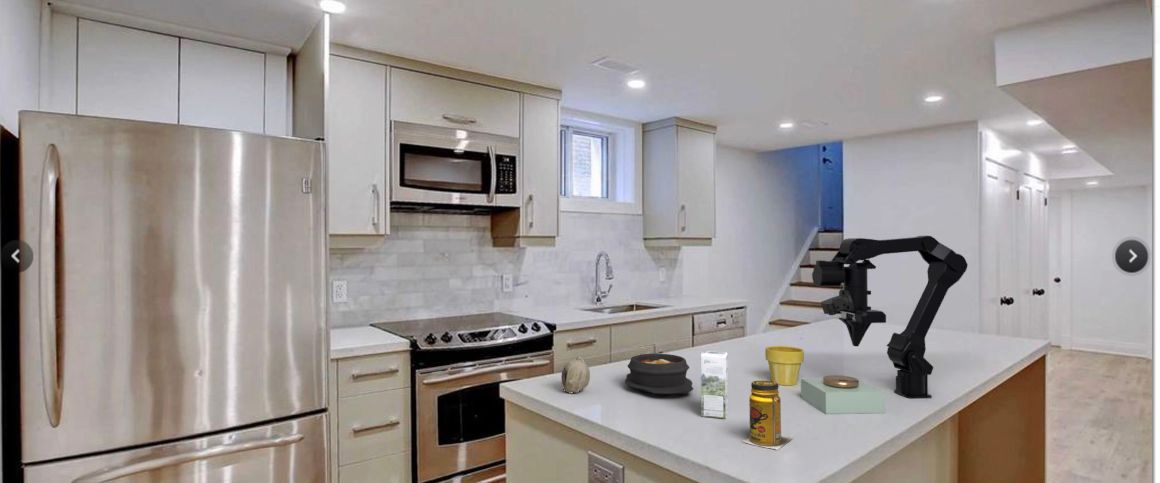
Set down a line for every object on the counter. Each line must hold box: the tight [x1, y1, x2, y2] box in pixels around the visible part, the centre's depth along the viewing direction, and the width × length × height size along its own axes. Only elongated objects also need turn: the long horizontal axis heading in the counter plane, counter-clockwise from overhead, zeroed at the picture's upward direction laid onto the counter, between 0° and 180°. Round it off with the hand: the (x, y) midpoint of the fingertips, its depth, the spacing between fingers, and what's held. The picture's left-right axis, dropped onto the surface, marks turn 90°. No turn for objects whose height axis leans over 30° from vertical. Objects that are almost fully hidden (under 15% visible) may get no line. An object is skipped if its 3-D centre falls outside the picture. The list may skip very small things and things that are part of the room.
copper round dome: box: [822, 374, 860, 388], centre depth 143 cm, size 8×8×5 cm
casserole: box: [624, 353, 694, 395], centre depth 160 cm, size 25×19×8 cm
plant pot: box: [765, 345, 805, 386], centre depth 165 cm, size 10×10×10 cm
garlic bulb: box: [561, 356, 591, 394], centre depth 158 cm, size 9×8×10 cm
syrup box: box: [700, 350, 729, 419], centre depth 135 cm, size 6×6×14 cm
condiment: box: [742, 379, 793, 451], centre depth 118 cm, size 7×8×12 cm
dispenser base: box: [800, 377, 886, 415], centre depth 143 cm, size 14×14×5 cm
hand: (855, 346), depth 151 cm, fingers closed
